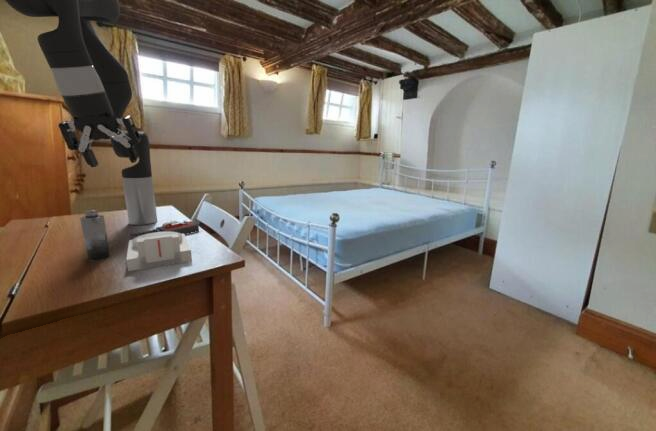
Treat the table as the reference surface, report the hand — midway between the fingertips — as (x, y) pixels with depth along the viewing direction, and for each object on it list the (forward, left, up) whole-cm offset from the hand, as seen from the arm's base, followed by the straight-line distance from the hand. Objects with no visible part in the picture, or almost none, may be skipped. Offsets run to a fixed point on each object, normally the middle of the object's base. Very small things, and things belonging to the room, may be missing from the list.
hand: (114, 163), depth 70 cm
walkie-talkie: (-21, +10, -26) cm, 35 cm away
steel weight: (-7, -7, -25) cm, 27 cm away
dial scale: (-1, +7, -25) cm, 26 cm away
